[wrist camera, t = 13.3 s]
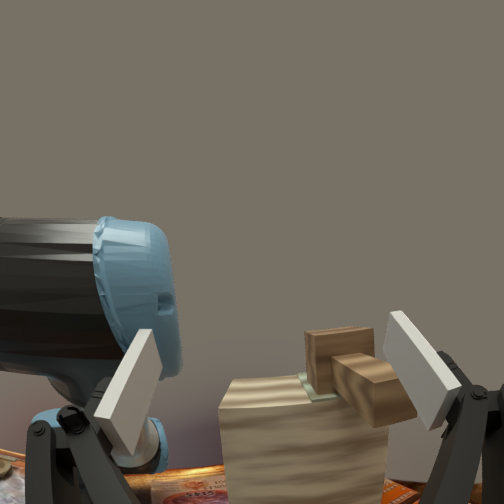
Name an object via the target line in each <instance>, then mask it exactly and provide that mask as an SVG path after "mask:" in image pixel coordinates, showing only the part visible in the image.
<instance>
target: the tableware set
mask: <svg viewBox="0 0 504 504" xmlns="http://www.w3.org/2000/svg"><path fill="white" fill-rule="evenodd" d="M10 461H11V462H16V461H17V459H16V458H14V457H8V456H2V455H0V478H2V477H4V476H5V475H6V472H8V471H9V470H10V468H11V463H10Z"/></svg>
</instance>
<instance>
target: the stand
mask: <svg viewBox="0 0 504 504" xmlns="http://www.w3.org/2000/svg"><path fill="white" fill-rule="evenodd" d="M218 412H219V422H220V432H221V441H222V451H223V460H224V468H225V476H226V484H227V491H228V499H229V504H381V498H382V492H383V485H384V477H385V468H386V459H387V448H388V433H389V425H387V426H383V427H378V428H373V427H372V426H371V425H370V424H369V423H368V422H367V421H366V420H365V419H364V418H363V417H362V416H361V415H360V414H359V413H358V412H357V411H356V410H355V409H354V408H353V407H352V406H351V405H350V404H349V403H348V402H347V401H346V400H345V399H344V398H343V397H342V396H341V395H340V394H339V393H331V394H323V395H317V394H316V392H315V391H314V389H313V388H312V386H311V385H310V383H309V382H308V380H307V372H302V373H297V375H293V376H281V377H267V378H250V379H233V381H232V383H231V385H230V387H229V388H228V391H227V392H226V394H225V396H224V398H223V400H222V402H221V404H220V406H219V408H218Z"/></svg>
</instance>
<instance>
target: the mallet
mask: <svg viewBox="0 0 504 504" xmlns="http://www.w3.org/2000/svg"><path fill="white" fill-rule="evenodd" d="M304 334H305V350H306V368H307V380H308V382H309V383H310V385H311V386H312V388H313V389H314V391H315V392H316V394H317V395H323V394H331V393H339V394H340V395H341V396H342V397H343V398H344V399H345V400H346V401H347V402H348V403H349V404H350V405H351V406H352V407H353V408H354V409H355V410H356V411H357V412H358V413H359V414H360V415H361V416H362V417H363V418H364V419H365V420H366V421H367V422H368V423H369V424H370V425H371V426H372V427H373V428H378V427H383V426H387V425H391V424H395V423H398V422H402V421H406V420H409V419H413V418H416V417H417V410H416V408H415V407H414V405H413V403H412V401H411V399H410V398H409V396H408V394H407V392H406V391H405V389H404V387H403V385H402V384H401V382H400V380H399V378H398V377H397V375H396V373H395V371H394V370H393V368H392V366H391V365H390V363H387V362H384V361H382V360H379V359H376V358H375V355H374V333H373V328H364V327H356V326H349V327H341V328H333V329H324V330H315V331H305V332H304Z"/></svg>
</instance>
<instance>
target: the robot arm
mask: <svg viewBox="0 0 504 504" xmlns="http://www.w3.org/2000/svg"><path fill="white" fill-rule="evenodd" d="M181 348H182V347H181V339H180V331H179V322H178V314H177V306H176V297H175V289H174V281H173V272H172V265H171V258H170V251H169V245H168V241H167V238H166V236H165V234H164V233H163V231H162V230H161V229H160V228H159V227H157V226H156V225H154V224H151V223H148V222H136V221H126V220H118V219H116V218H115V217H109V216H108V217H102V218H100V219H99V220H88V219H55V218H1V217H0V371H7V372H14V373H21V374H30V375H41V376H47V378H48V380H49V381H50V383H51V385H52V386H53V387H54V388H55V390H56V391H57V392H58V393H59V394H60V395H61V396H62V397H63V398H64V399H66V400H67V401H69V402H71V403H72V404H74V405H67V406H65V407H63V408H57V409H51V410H47V411H44V412H41V413H39V414H37V415H36V416H35V417H34V418H33V419H32V422H31V425H30V426H29V428H28V431H27V443H26V459H25V504H141V503H140V502H139V500H138V499H137V497H136V496H135V494H134V492H133V491H132V489H131V488H130V486H129V484H128V483H127V481H126V479H125V478H124V476H123V475H128V474H155V473H161V472H164V471H165V470H166V469H167V467H168V446H167V440H166V435H165V431H164V428H163V426H162V424H161V422H160V421H159V420H158V419H156V418H149V417H148V413H147V411H148V408H149V405H150V402H151V399H152V397H153V393H154V391H155V388H156V385H157V382H158V381H162V380H164V379H165V378H167V377H174V376H177V375H178V374H179V373H180V372H181V370H182V367H183V359H182V349H181ZM383 352H384V354H385V356H386V358H387V359H388V361H389V363H390V365H391V366H392V368H393V370H394V371H395V373H396V375H397V377H398V378H399V380H400V382H401V384H402V385H403V387H404V389H405V391H406V392H407V394H408V396H409V398H410V399H411V401H412V403H413V405H414V407H415V408H416V410H417V412H418V414H419V416H420V418H421V419H422V421H423V423H424V425H425V427H426V429H427V431H430V430H433V429H436V428H439V427H441V426H442V424H443V422H444V420H445V418H446V420H447V422H448V423H449V424H448V426H447V428H446V429H445V431H444V433H443V434H442V436H441V438H443V441H442V444H441V447H440V450H439V453H438V456H437V459H436V461H435V464H434V467H433V470H432V472H431V475H430V477H429V480H428V482H427V485H426V487H425V489H424V492H423V494H422V496H421V498H420V501H419V503H418V504H468V501H469V498H470V495H471V492H472V488H473V485H474V481H475V478H476V474H477V470H478V465H479V461H480V456H481V452H482V479H483V480H482V504H504V384H503V385H502V387H501V389H500V390H498V391H487V389H485V388H484V387H482V386H480V385H472V383H471V382H470V381H469V380H468V378H467V377H466V376H465V374H464V373H463V372H462V371H461V369H460V368H458V366H457V365H456V363H454V361H453V360H452V358H451V357H450V356H449V355H447V354H446V353H444V352H443V351H439V352H435V350H434V349H433V348H432V347H431V345H430V344H429V343H428V342H427V340H425V338H424V337H423V336H422V334H421V333H420V332H419V331H418V330H417V328H416V327H415V326H414V325H413V324H412V322H411V321H410V320H409V319H408V318H407V317H406V315H405V314H404V313H403V312H402V311H395V312H390V314H389V320H388V326H387V331H386V337H385V342H384V347H383Z"/></svg>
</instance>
